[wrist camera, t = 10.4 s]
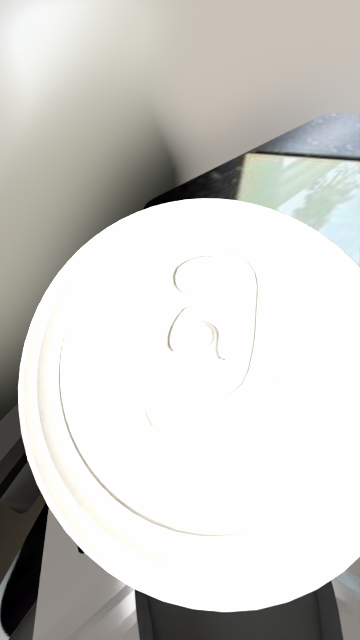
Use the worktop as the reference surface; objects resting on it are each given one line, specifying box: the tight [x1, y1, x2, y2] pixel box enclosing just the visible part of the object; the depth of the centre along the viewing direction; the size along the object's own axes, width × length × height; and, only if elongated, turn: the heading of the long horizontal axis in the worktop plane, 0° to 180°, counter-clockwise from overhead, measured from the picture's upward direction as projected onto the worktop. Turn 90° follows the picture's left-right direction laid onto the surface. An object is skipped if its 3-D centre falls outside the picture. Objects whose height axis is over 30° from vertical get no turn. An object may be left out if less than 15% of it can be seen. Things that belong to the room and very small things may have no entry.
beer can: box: [18, 198, 360, 612], centre depth 10 cm, size 6×6×15 cm
